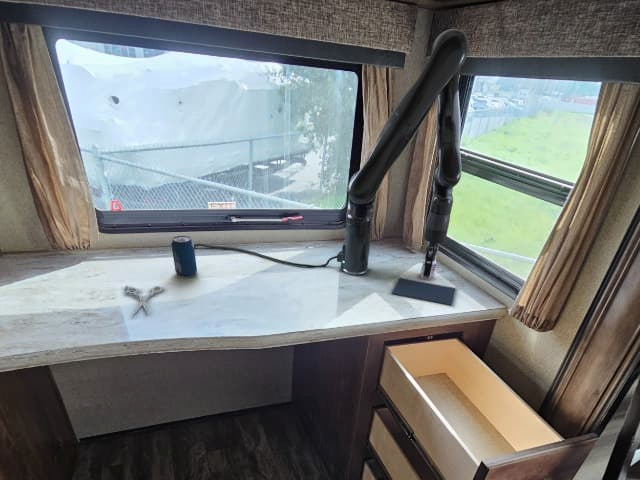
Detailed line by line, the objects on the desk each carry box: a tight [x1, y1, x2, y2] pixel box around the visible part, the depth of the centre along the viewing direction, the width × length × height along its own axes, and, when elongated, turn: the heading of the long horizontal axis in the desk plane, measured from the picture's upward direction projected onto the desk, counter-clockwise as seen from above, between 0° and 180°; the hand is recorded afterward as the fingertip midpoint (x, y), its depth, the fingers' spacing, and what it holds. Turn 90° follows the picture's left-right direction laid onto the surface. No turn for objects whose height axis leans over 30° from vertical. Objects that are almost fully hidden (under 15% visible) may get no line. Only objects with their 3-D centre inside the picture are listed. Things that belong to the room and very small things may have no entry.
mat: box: [391, 277, 456, 307], centre depth 148 cm, size 20×14×1 cm
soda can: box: [170, 235, 198, 278], centre depth 142 cm, size 7×7×12 cm
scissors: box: [125, 285, 163, 316], centre depth 127 cm, size 11×1×20 cm
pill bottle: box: [419, 254, 438, 281], centre depth 156 cm, size 5×5×8 cm
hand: (427, 273), depth 157 cm, fingers closed on pill bottle, 5 cm apart
